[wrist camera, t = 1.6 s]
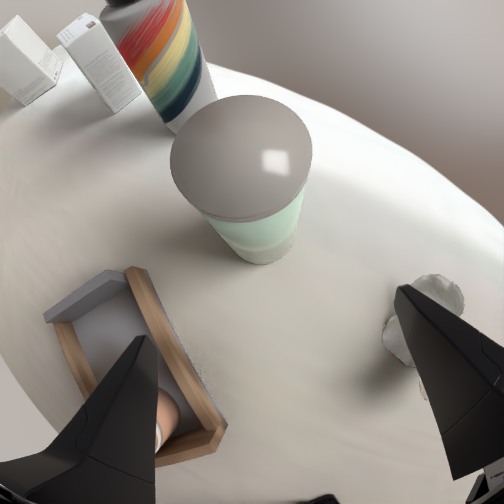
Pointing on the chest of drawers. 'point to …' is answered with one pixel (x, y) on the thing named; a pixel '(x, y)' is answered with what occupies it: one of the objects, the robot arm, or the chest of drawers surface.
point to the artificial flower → (439, 292)
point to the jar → (166, 417)
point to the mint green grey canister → (245, 172)
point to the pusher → (88, 297)
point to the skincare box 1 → (26, 62)
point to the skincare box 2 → (99, 61)
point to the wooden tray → (169, 363)
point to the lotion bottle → (162, 55)
